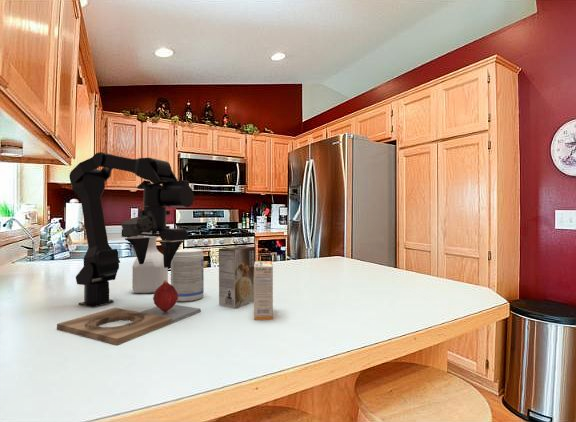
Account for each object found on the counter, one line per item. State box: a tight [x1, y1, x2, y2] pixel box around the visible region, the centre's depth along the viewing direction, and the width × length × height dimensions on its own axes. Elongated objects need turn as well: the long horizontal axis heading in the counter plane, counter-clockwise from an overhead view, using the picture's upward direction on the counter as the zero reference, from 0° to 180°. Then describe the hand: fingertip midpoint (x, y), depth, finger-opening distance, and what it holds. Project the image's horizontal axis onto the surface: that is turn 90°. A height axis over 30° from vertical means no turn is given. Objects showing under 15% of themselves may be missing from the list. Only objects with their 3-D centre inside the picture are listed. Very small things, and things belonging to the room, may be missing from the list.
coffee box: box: [218, 245, 256, 309], centre depth 93 cm, size 9×6×16 cm
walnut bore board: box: [56, 307, 173, 346], centre depth 73 cm, size 20×14×1 cm
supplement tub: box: [170, 248, 205, 303], centre depth 98 cm, size 10×10×15 cm
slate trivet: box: [140, 304, 202, 324], centre depth 81 cm, size 12×12×1 cm
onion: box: [152, 280, 178, 312], centre depth 81 cm, size 6×6×8 cm
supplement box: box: [253, 260, 274, 321], centre depth 82 cm, size 8×5×13 cm, turn 5°
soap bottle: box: [131, 231, 169, 294], centre depth 108 cm, size 10×10×23 cm
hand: (153, 265), depth 85 cm, fingers open, 9 cm apart
